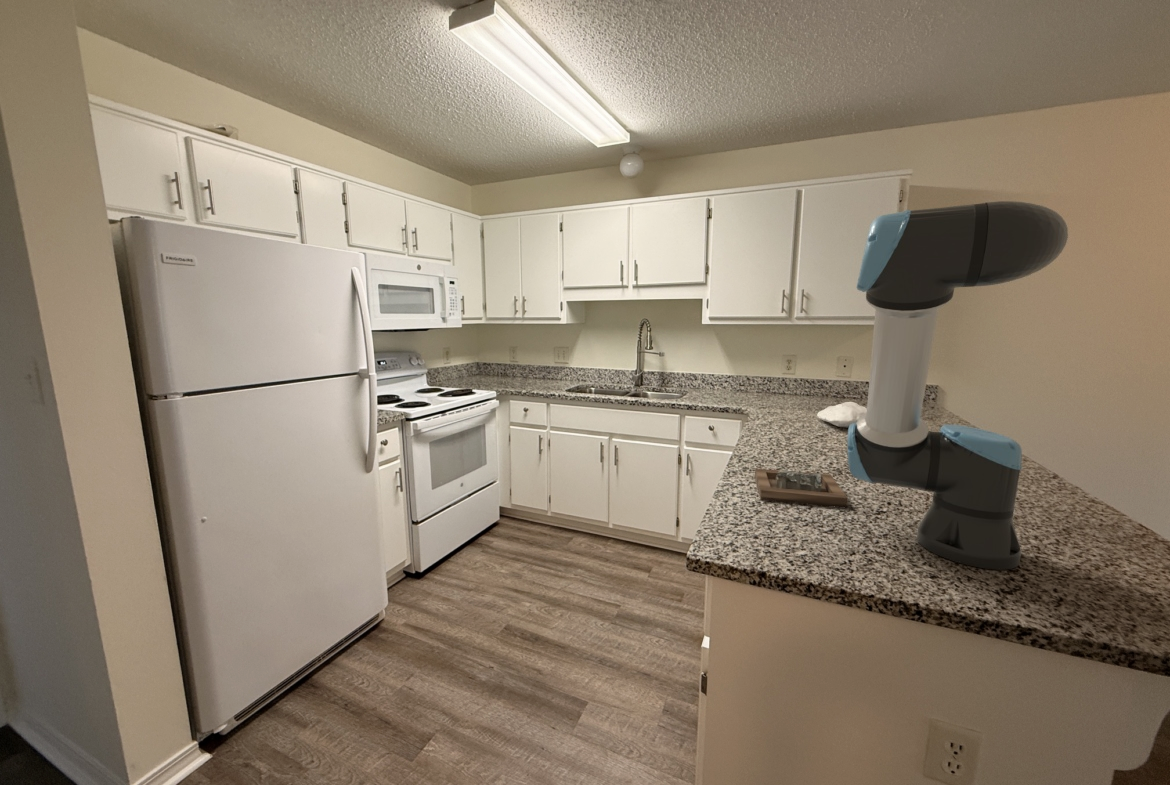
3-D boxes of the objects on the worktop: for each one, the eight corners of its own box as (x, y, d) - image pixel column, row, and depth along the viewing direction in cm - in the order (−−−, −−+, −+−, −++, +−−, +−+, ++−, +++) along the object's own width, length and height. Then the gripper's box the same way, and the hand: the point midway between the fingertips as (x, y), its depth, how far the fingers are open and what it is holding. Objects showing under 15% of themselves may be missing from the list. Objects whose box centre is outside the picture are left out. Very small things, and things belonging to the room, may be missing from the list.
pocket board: (846, 508, 106) (847, 498, 106) (760, 499, 111) (761, 490, 111) (829, 483, 122) (830, 474, 122) (754, 477, 127) (755, 468, 127)
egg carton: (773, 489, 116) (774, 474, 115) (777, 480, 123) (777, 465, 122) (820, 496, 111) (821, 480, 110) (821, 486, 117) (822, 471, 117)
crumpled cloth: (880, 417, 198) (878, 396, 197) (885, 433, 168) (883, 409, 168) (819, 419, 210) (818, 400, 210) (814, 435, 180) (812, 413, 180)
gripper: (945, 289, 98) (934, 386, 101) (900, 295, 121) (892, 374, 125) (905, 290, 100) (895, 385, 103) (869, 296, 123) (861, 373, 127)
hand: (894, 379), depth 114 cm, fingers open, 13 cm apart
